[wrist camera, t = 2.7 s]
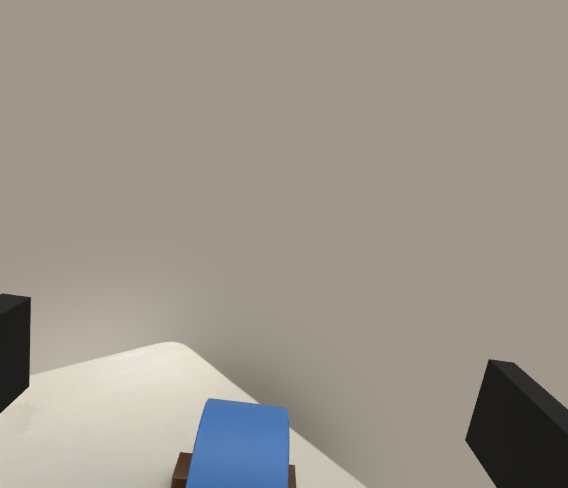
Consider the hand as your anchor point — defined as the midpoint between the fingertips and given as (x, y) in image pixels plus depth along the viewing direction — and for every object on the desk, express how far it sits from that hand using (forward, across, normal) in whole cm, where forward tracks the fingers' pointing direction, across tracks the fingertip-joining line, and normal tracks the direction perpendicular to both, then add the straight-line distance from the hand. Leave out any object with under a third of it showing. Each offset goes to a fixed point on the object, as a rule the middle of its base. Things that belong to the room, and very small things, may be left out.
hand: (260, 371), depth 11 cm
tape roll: (+10, 0, -19) cm, 21 cm away
